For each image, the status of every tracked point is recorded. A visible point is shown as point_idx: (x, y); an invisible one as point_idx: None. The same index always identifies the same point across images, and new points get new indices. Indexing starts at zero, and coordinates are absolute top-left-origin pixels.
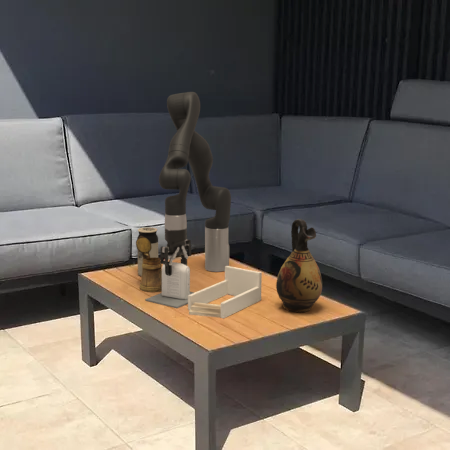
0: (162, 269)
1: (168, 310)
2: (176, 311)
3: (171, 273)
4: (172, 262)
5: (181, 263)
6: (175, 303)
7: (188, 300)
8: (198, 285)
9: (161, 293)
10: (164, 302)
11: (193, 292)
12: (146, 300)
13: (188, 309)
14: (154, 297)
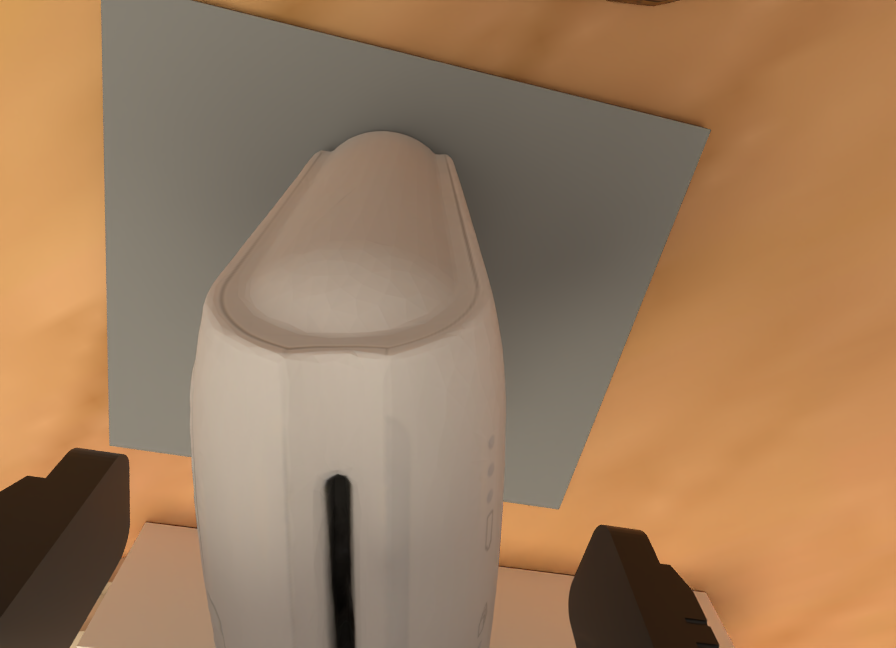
0: (204, 314)
1: (12, 394)
2: (42, 463)
3: (96, 579)
4: (368, 632)
5: (634, 633)
6: (188, 391)
7: (103, 601)
8: (893, 318)
9: (432, 81)
10: (144, 280)
11: (596, 397)
12: (107, 4)
13: (143, 529)
14: (236, 73)
